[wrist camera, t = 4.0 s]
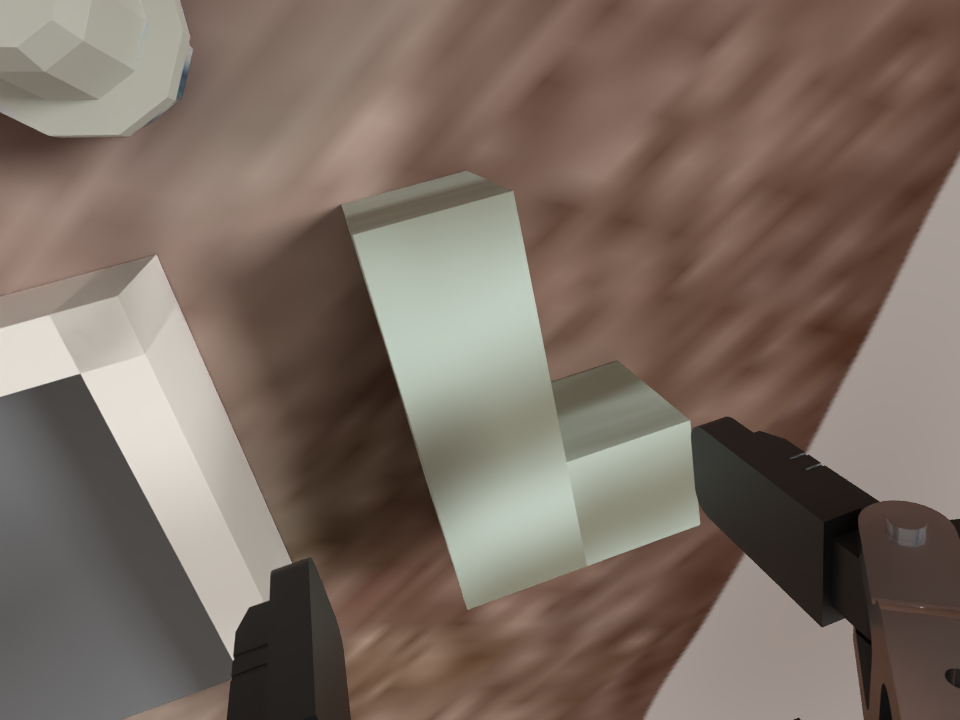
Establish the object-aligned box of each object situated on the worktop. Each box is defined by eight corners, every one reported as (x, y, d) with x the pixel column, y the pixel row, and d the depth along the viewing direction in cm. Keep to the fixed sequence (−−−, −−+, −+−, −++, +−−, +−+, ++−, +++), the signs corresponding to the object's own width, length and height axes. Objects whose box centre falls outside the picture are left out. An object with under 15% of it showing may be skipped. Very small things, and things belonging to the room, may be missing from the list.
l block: (341, 204, 20) (352, 235, 15) (585, 138, 21) (663, 149, 16) (437, 516, 25) (467, 609, 20) (631, 450, 26) (700, 524, 21)
